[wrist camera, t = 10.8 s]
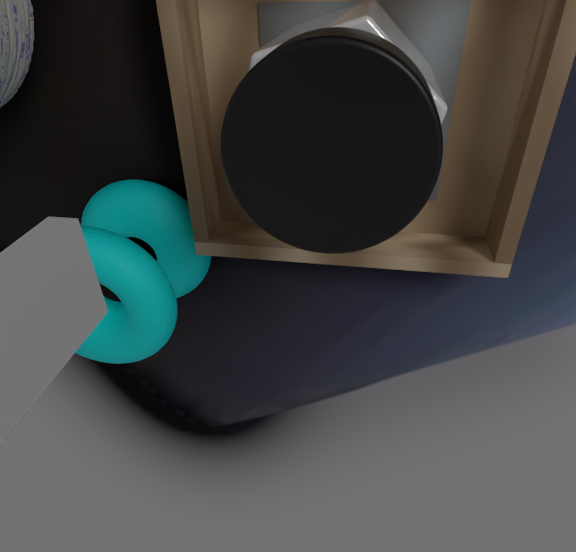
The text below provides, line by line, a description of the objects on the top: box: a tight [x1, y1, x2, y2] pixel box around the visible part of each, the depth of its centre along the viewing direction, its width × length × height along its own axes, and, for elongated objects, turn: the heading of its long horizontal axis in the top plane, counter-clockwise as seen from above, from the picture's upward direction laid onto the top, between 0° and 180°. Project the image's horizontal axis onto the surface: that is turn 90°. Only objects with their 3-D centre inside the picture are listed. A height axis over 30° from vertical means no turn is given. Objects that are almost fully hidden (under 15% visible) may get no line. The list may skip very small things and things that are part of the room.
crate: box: [156, 0, 576, 278], centre depth 26 cm, size 20×18×4 cm
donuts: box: [75, 179, 211, 364], centre depth 32 cm, size 10×10×10 cm
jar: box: [221, 0, 448, 254], centre depth 21 cm, size 9×8×12 cm
